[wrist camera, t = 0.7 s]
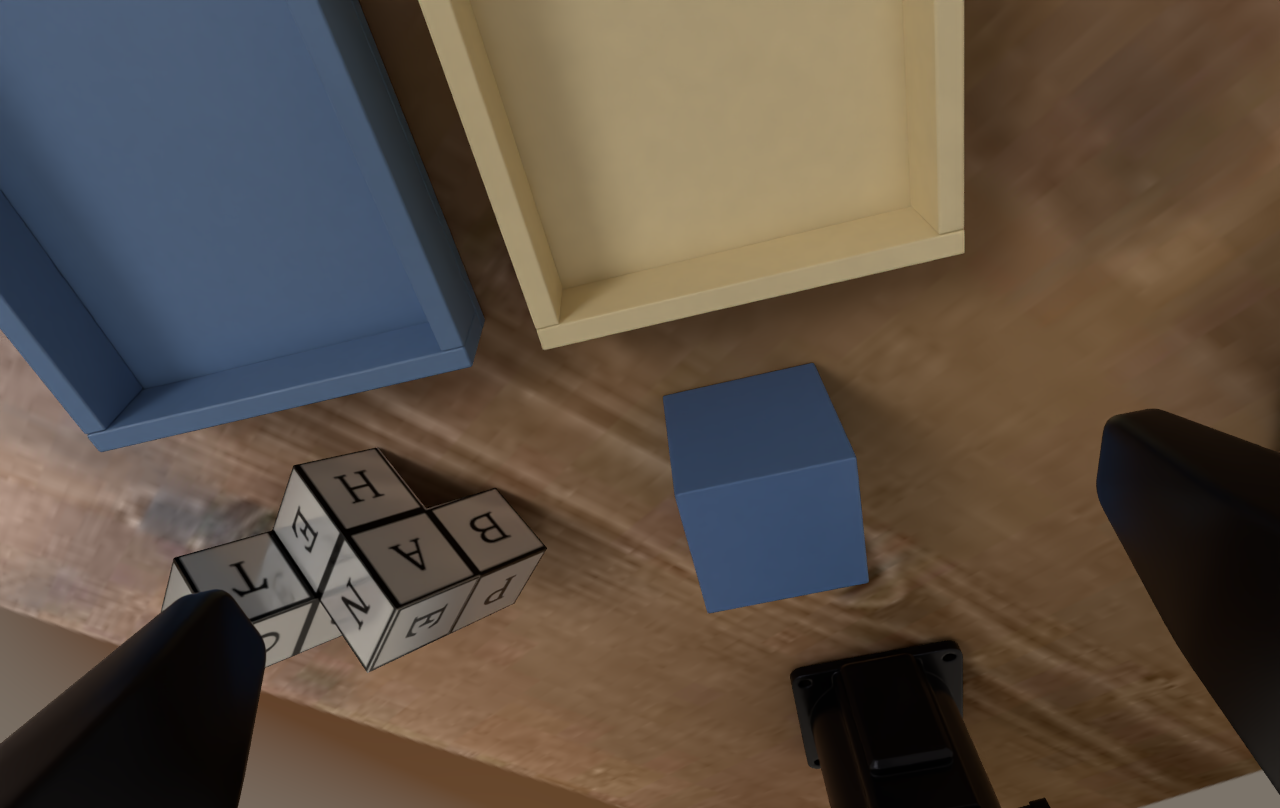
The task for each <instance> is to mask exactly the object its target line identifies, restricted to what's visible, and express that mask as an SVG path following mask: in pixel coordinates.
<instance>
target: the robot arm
mask: <svg viewBox="0 0 1280 808" xmlns="http://www.w3.org/2000/svg"><path fill="white" fill-rule="evenodd" d="M1096 487H1097V494H1098V498H1099V501H1100V504H1101V506H1102V508H1103V510H1104V512H1105V514H1106V516H1107V517H1108V519H1109V521H1110V523H1111V525H1112V527H1113V529H1114V530H1115V532H1116V534H1117V536H1118V538H1119V540H1120V542H1121V543H1122V545H1123V547H1124V549H1125V551H1126V553H1127V555H1128V556H1129V558H1130V560H1131V562H1132V564H1133V566H1134V568H1135V569H1136V571H1137V573H1138V575H1139V577H1140V579H1141V581H1142V582H1143V584H1144V586H1145V588H1146V590H1147V592H1148V594H1149V595H1150V597H1151V599H1152V601H1153V603H1154V605H1155V607H1156V608H1157V610H1158V612H1159V614H1160V616H1161V618H1162V620H1163V621H1164V623H1165V625H1166V627H1167V628H1168V630H1169V632H1170V633H1171V635H1172V637H1173V639H1174V640H1175V642H1176V644H1177V645H1178V647H1179V648H1180V650H1181V652H1182V653H1183V655H1184V656H1185V658H1186V659H1187V661H1188V662H1189V664H1190V665H1191V667H1192V668H1193V670H1194V671H1195V673H1196V674H1197V676H1198V677H1199V678H1200V680H1201V681H1202V683H1203V684H1204V686H1205V687H1206V689H1207V690H1208V692H1209V693H1210V694H1211V696H1212V697H1213V699H1214V700H1215V702H1216V703H1217V705H1218V706H1219V707H1220V709H1221V710H1222V712H1223V713H1224V715H1225V716H1226V718H1227V719H1228V720H1229V722H1230V723H1231V725H1232V726H1233V728H1234V729H1235V731H1236V732H1237V734H1238V735H1239V736H1240V738H1241V739H1242V741H1243V742H1244V744H1245V745H1246V747H1247V748H1248V749H1249V751H1250V752H1251V754H1252V755H1253V757H1254V758H1255V760H1256V761H1257V762H1258V764H1259V765H1260V767H1261V768H1262V770H1263V771H1264V773H1265V774H1266V776H1267V777H1268V778H1269V780H1270V781H1271V783H1272V784H1273V785H1274V787H1275V789H1276V790H1277V791H1278V793H1279V794H1280V453H1278V452H1276V451H1273V450H1270V449H1267V448H1265V447H1262V446H1259V445H1256V444H1254V443H1251V442H1248V441H1245V440H1243V439H1240V438H1237V437H1235V436H1232V435H1229V434H1226V433H1224V432H1221V431H1218V430H1215V429H1213V428H1210V427H1207V426H1204V425H1202V424H1199V423H1196V422H1194V421H1191V420H1188V419H1185V418H1183V417H1180V416H1177V415H1174V414H1172V413H1169V412H1166V411H1163V410H1160V409H1145V410H1140V411H1135V412H1129V413H1124V414H1119V415H1115V416H1113V417H1111V418H1110V419H1109V420H1108V421H1107V422H1106V424H1105V426H1104V430H1103V436H1102V443H1101V450H1100V458H1099V465H1098V472H1097V479H1096ZM265 665H266V647H265V643H264V640H263V637H262V636H261V634H260V633H259V631H258V630H257V629H256V627H255V626H254V625H253V623H252V622H251V621H250V619H249V618H248V617H247V615H246V614H245V613H244V611H243V610H242V609H241V607H240V606H239V605H238V603H237V602H236V600H235V599H234V598H233V597H232V596H231V594H229V593H228V592H226V591H224V590H220V589H213V590H208V591H202V592H197V593H192V594H188V595H185V596H182V597H180V598H179V599H177V600H176V601H174V602H173V603H172V604H171V605H170V606H168V607H167V608H166V609H165V610H163V611H162V612H161V613H160V614H159V615H157V616H156V617H155V618H154V619H152V620H151V621H150V622H149V623H148V624H146V625H145V626H144V627H143V628H141V629H140V630H139V631H138V632H136V633H135V634H134V635H133V636H132V637H130V638H129V639H128V640H127V641H125V642H124V643H123V644H122V645H121V646H119V647H118V648H117V649H116V650H115V651H113V652H112V653H111V654H110V655H108V656H107V657H106V658H105V659H103V660H102V661H101V662H100V663H99V664H97V665H96V666H95V667H94V668H92V669H91V670H90V671H89V672H88V673H86V674H85V675H84V676H83V677H81V678H80V679H79V680H78V681H76V682H75V683H74V684H73V685H72V686H70V687H69V688H68V689H67V690H65V691H64V692H63V693H62V694H60V695H59V696H58V697H57V698H56V699H54V700H53V701H52V702H51V703H49V704H48V705H47V706H46V707H45V708H43V709H42V710H41V711H40V712H38V713H37V714H36V715H35V716H34V717H32V718H31V719H30V720H29V721H27V722H26V723H25V724H24V725H23V726H21V727H20V728H19V729H18V730H16V731H15V732H14V733H13V734H11V735H10V736H9V737H8V738H7V739H5V740H4V741H3V742H2V743H0V808H238V803H239V800H240V795H241V790H242V786H243V781H244V777H245V771H246V766H247V761H248V755H249V750H250V745H251V739H252V734H253V728H254V723H255V718H256V713H257V707H258V702H259V696H260V691H261V686H262V681H263V675H264V670H265ZM790 680H791V685H792V689H793V694H794V699H795V704H796V709H797V714H798V719H799V724H800V728H801V733H802V738H803V743H804V748H805V753H806V757H807V762H808V765H809V766H810V767H812V768H815V769H820V768H821V770H822V774H823V778H824V782H825V786H826V790H827V794H828V798H829V802H830V806H831V808H1001V806H1000V804H999V801H998V799H997V797H996V794H995V792H994V790H993V788H992V785H991V783H990V781H989V778H988V776H987V774H986V771H985V769H984V767H983V765H982V762H981V760H980V758H979V755H978V753H977V751H976V749H975V746H974V744H973V742H972V739H971V737H970V735H969V732H968V730H967V728H966V726H965V723H964V721H963V655H962V652H961V650H960V648H959V646H958V644H957V643H956V642H955V641H941V642H936V643H930V644H925V645H920V646H914V647H909V648H903V649H898V650H892V651H887V652H881V653H876V654H871V655H865V656H860V657H854V658H849V659H843V660H838V661H833V662H827V663H822V664H816V665H811V666H805V667H800V668H797V669H795V670H794V671H792V673H791V674H790ZM1029 804H1030V805H1027V806H1023V807H1019V808H1050V806H1049V804H1048V802H1047V800H1046V799H1045V798H1041V799H1038V800H1034V801H1030V802H1029Z"/></svg>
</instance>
